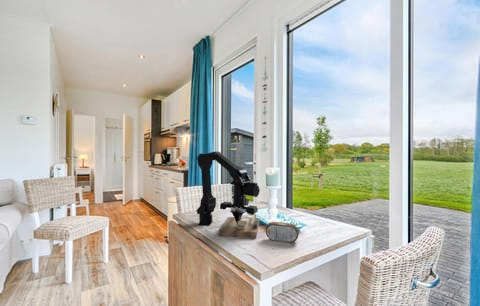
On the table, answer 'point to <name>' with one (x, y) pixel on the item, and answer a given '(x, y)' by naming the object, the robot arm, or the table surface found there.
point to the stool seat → (232, 229)
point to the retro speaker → (282, 232)
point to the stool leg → (246, 221)
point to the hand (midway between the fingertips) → (237, 224)
